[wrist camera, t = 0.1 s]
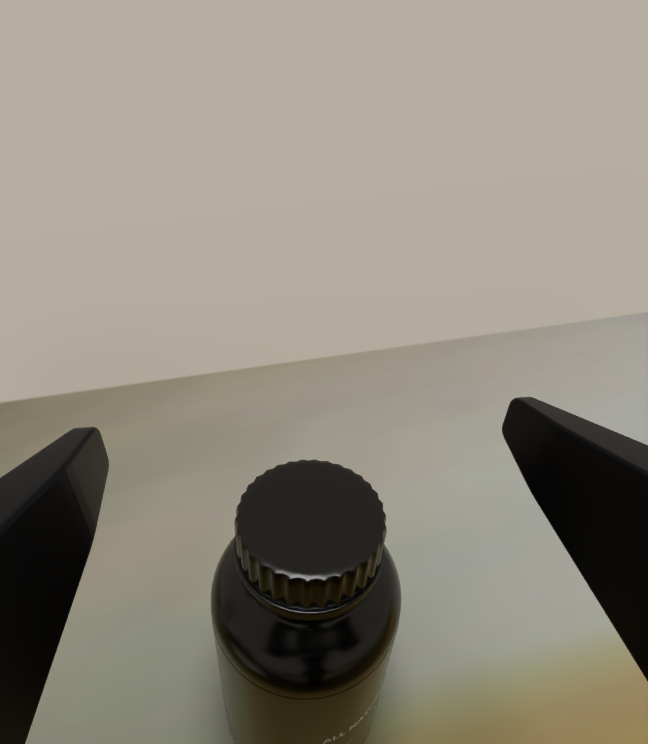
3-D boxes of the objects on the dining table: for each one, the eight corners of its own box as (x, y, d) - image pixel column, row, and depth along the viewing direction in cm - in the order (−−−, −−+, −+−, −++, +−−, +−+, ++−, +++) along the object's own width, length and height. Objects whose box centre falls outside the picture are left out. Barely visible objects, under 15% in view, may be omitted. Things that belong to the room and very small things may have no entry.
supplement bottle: (360, 821, 15) (409, 668, 9) (197, 754, 16) (142, 581, 10) (385, 633, 21) (425, 461, 15) (262, 595, 22) (252, 424, 16)
